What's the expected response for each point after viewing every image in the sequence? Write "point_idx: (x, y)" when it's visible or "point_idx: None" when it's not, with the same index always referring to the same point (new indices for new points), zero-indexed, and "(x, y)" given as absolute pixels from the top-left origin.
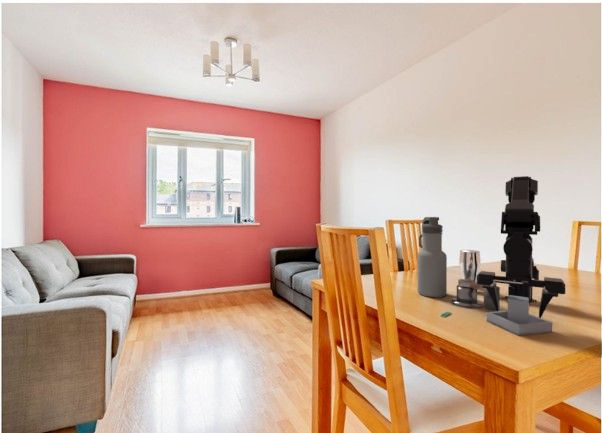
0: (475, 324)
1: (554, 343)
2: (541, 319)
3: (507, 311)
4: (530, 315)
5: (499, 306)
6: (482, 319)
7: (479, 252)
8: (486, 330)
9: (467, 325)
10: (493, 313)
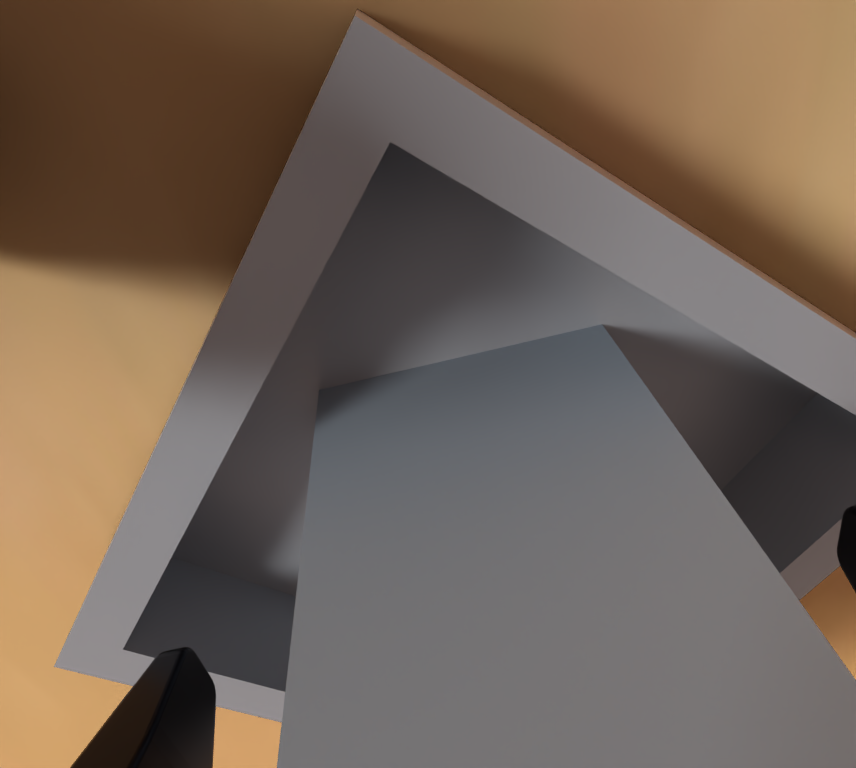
0: (99, 698)
1: (826, 631)
2: (852, 408)
3: (254, 383)
4: (684, 311)
5: None
6: (19, 514)
7: None
8: (269, 746)
9: (72, 760)
10: (138, 612)
